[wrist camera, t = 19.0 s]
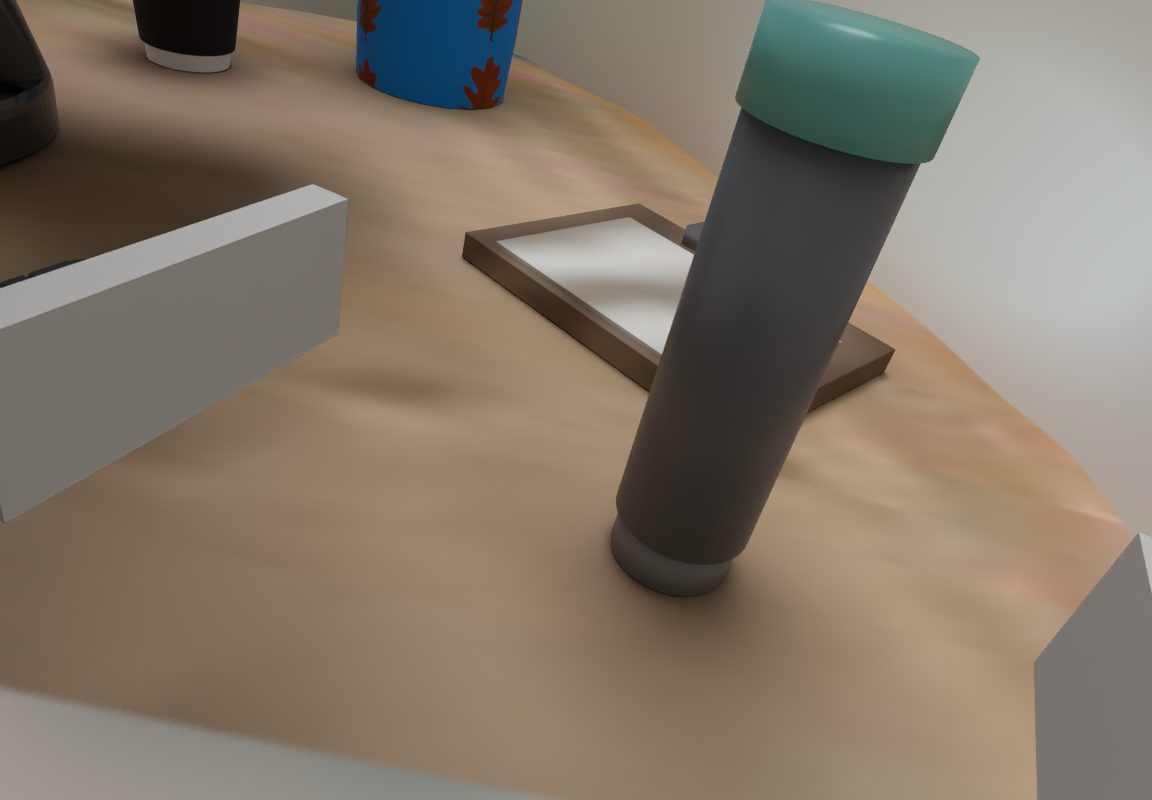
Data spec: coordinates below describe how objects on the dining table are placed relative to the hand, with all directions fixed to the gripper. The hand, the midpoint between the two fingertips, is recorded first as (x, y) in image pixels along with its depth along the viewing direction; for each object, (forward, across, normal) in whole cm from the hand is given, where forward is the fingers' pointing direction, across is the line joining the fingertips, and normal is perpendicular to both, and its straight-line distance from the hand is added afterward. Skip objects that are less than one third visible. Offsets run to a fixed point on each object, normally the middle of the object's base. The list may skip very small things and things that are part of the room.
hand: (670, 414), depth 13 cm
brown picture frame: (+23, -5, -10) cm, 25 cm away
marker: (+8, 0, -10) cm, 13 cm away
